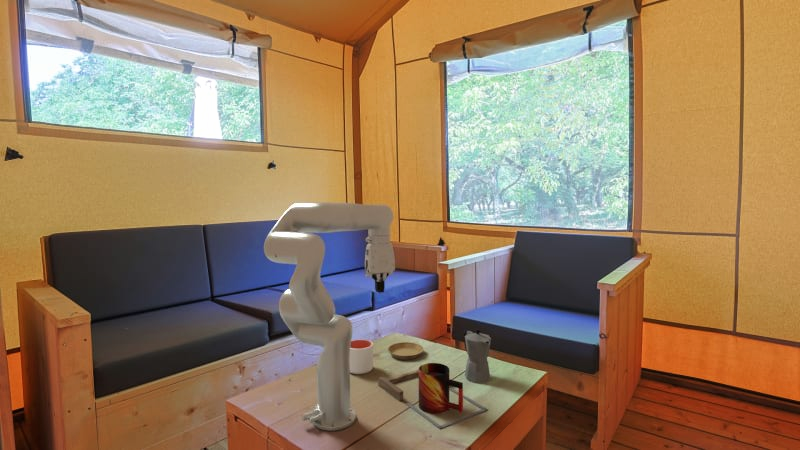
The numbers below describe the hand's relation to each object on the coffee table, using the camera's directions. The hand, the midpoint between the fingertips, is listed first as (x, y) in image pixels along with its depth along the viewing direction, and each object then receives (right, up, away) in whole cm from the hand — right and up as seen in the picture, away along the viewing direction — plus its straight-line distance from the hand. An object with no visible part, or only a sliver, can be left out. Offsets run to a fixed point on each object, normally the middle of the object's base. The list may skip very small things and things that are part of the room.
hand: (379, 291), depth 150 cm
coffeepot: (+35, -32, +5) cm, 47 cm away
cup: (-8, -32, +11) cm, 35 cm away
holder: (+12, -32, -2) cm, 34 cm away
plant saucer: (+9, -30, +27) cm, 42 cm away
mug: (+20, -34, -16) cm, 42 cm away
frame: (+21, -33, -17) cm, 43 cm away
